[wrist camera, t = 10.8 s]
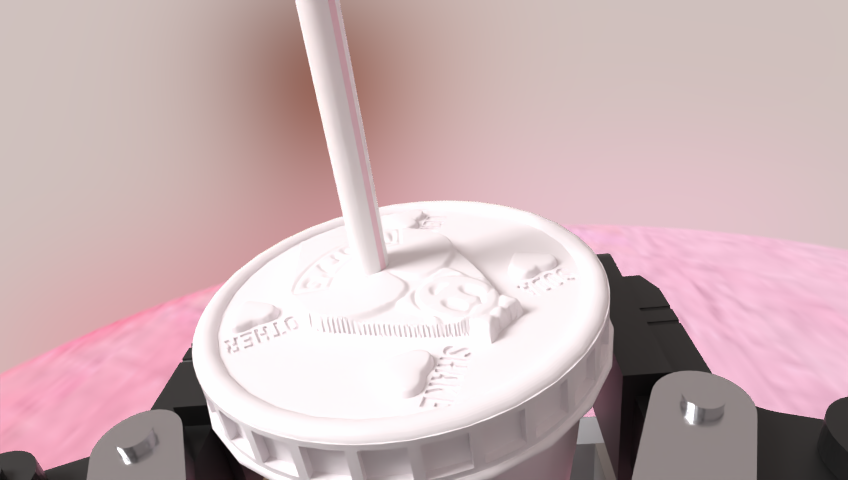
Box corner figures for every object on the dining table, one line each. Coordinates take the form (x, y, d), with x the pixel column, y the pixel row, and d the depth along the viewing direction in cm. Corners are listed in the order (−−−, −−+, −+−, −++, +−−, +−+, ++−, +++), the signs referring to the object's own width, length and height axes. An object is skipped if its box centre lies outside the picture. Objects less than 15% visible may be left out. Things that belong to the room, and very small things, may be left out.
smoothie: (442, 471, 17) (355, -32, 11) (652, 599, 13) (714, -81, 7) (271, 660, 13) (-33, 34, 7) (500, 928, 9) (291, 4, 3)
